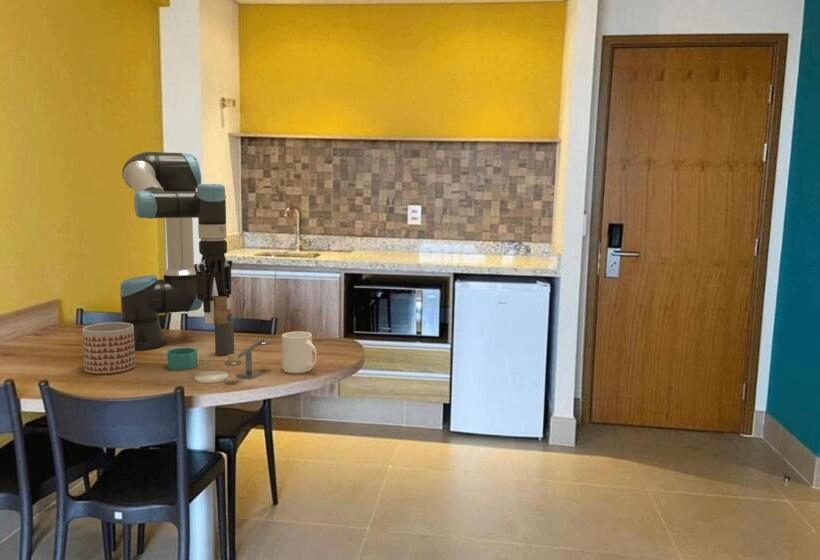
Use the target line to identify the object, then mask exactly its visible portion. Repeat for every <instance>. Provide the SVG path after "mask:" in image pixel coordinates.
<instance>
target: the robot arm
mask: <svg viewBox="0 0 820 560" xmlns="http://www.w3.org/2000/svg"><path fill="white" fill-rule="evenodd" d="M121 172H122V173H121V174H122V178H123V181H124V182H125V184H126V185H127V186H128V187H129V188H131V189H133V192H134V193H135V194H134V197H133V203H134V204H133V205H134V211H135V216H136V217H137V218H141V219H149V220H151V219H152V220H153V219H165V225H166V227H165V228H166V255H167V259H166V260H167V269H166V270H165V271H164V272H163V274H162V276H163V278H162V279H159V277H158V276H157V275H154V274H153V275H152V274H151V275H141V276H134V277H130V278H128V279H124V280H123V281H122V282H121V283H120V287H119V288H120V290H119V297H120V309H121V311H120V312H121V322H123V323H130V324H132V325H133V326H134V342H135V351H145V350H153V349H157V348H161V347H163V346H165V345H166V337H165V334H164V333H163V330H162V326H161V324H160V317H159V316H160V314H172V313H182V312H186V313H188V312H193V311H198V310H200V309H201V307H202V306H203V313H204V312H205V319H204V325H210V324H214V301H211V299H212V296H213V291H214V290H213V288H214V280H215V286H216V291H217V296H227V298H228V299H230V296H231V294H232V267H233V261H232V260H228V259H227V258H226V256H225V254H227V253H228V241H227V240H225V239H227V203H226V202H227V201H226V200H227V194H226V187H225V186H224V185H223V184H222V183H221V184H220V183H202V173H201V168H200V164H199V161H198V158H197V157H196V156H195V155H193V154H191V153H184V152H162V151H161V152H160V151H159V152H153V151H143V152H140V153H137V154H135V155H133V156H131V157H130V158H128V159H127V160H126V162H125V163H124V165H123V167H122V171H121ZM193 218H194V219H195V218H196V219H197V221H198V222H197V224H198V225H197V226H198V227H197V228H198V229H197V231H198V238H199V239H200V240H199V242H198V249H199V250H198V252H199V254H200V255H201V260H200V262H199V263H195V256H194V255H195V254H194V253H195V252H194V226H193Z"/></svg>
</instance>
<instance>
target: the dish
mask: <svg viewBox="0 0 820 560" xmlns="http://www.w3.org/2000/svg"><path fill="white" fill-rule="evenodd" d="M228 379H229V372H226V371H221V370H209V371H201V372H198V373H196V374H195V375H194V382H196V383H199V384H216V383H222V382H225V381H227V380H228Z"/></svg>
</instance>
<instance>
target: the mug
mask: <svg viewBox="0 0 820 560" xmlns="http://www.w3.org/2000/svg"><path fill="white" fill-rule="evenodd" d="M281 338H282V341H281V342H282V343H281V344H282V348H281V349H282V370H283V372H285V373H288V374H305V373H308V372H310V371H311V370H312V368H313V367H314V366H315V365H316V363H317V359H318V358H317V355H318V353H317V348H316V346H315V344H313V333H311V332H308V331H290V332H285V333H282V335H281ZM313 353H314V358H315V359H314V360H313Z"/></svg>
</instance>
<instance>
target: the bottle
mask: <svg viewBox="0 0 820 560" xmlns="http://www.w3.org/2000/svg"><path fill="white" fill-rule="evenodd" d="M231 311H232V307H229V306H227V323H224V324H220V325H214V342H215V344H214V346H215V355H216V356H219V357H221V356H222V357H223V356H225V357H228V355H230V354H235V332H234V331H235V329H234V321H233V320H232V319H231V318H232V317H233V313H232V312H231Z"/></svg>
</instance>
